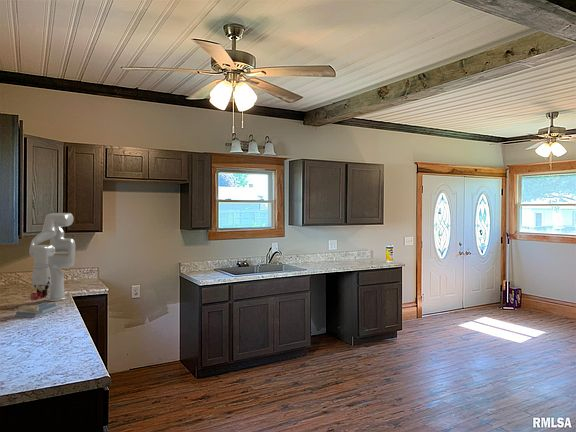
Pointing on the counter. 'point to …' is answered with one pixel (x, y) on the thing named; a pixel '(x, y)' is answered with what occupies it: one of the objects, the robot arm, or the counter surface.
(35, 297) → the toy fire truck
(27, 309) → the tan long rectangular block
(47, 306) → the board
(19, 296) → the counter surface
